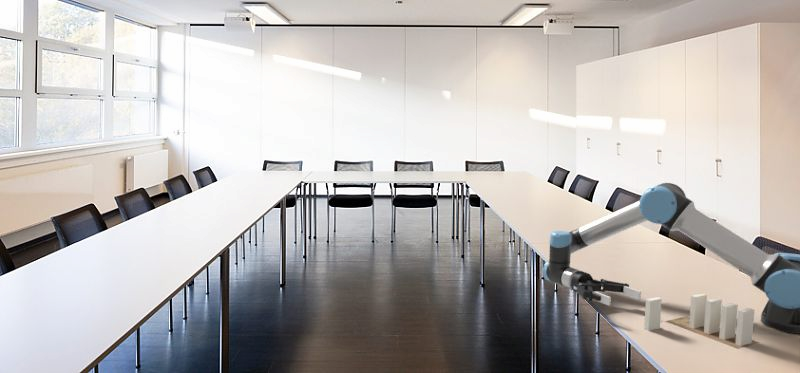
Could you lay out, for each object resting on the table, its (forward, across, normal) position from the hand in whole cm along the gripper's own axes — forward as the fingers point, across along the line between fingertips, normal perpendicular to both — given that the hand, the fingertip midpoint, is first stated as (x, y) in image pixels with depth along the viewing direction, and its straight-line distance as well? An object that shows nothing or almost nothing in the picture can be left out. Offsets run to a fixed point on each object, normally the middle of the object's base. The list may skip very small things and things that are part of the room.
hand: (625, 298), depth 189 cm
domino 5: (+31, -14, -6) cm, 35 cm away
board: (+20, -14, -7) cm, 26 cm away
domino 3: (+21, -14, -6) cm, 26 cm away
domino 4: (+26, -14, -6) cm, 30 cm away
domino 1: (+11, 0, -7) cm, 13 cm away
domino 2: (+16, -14, -6) cm, 22 cm away
